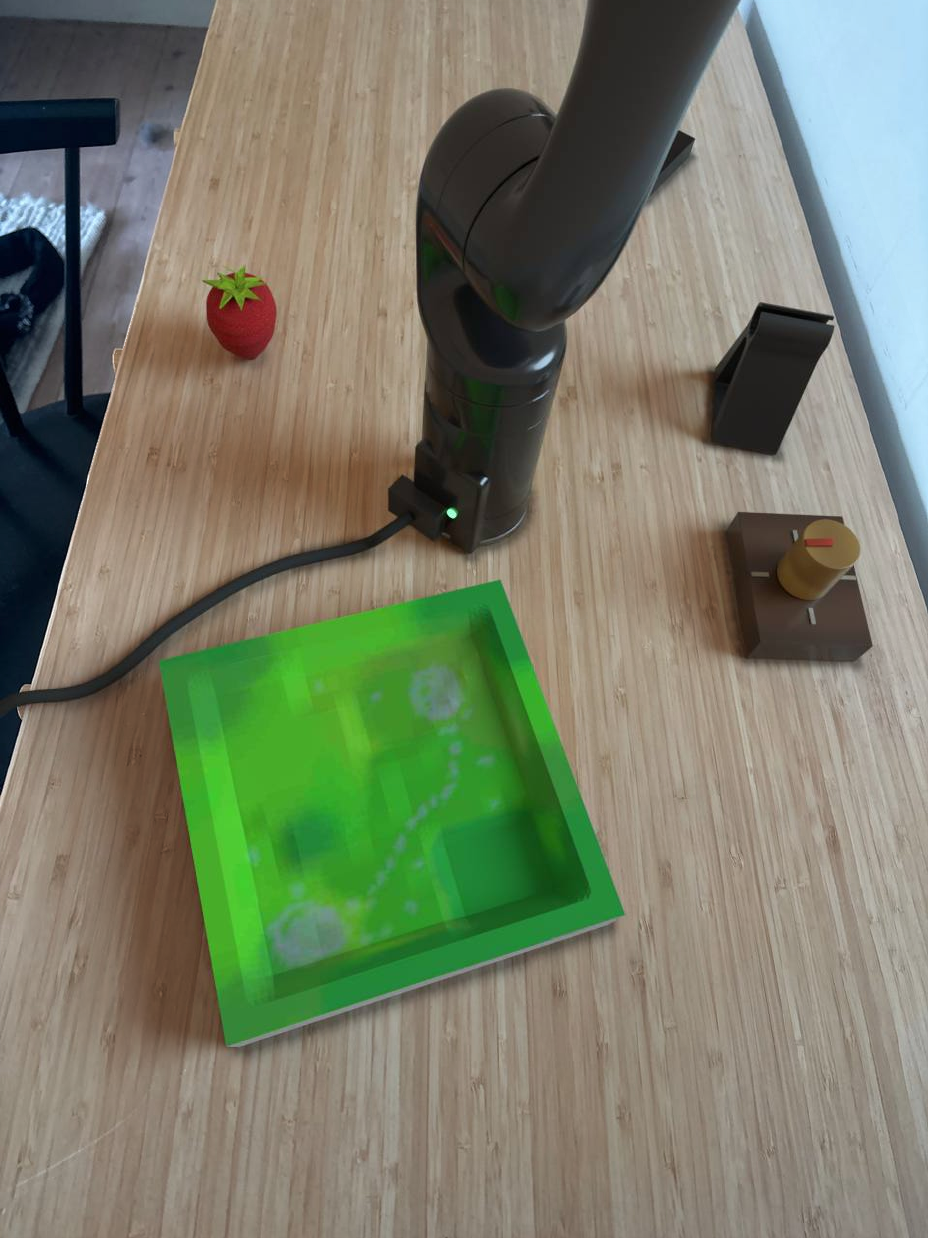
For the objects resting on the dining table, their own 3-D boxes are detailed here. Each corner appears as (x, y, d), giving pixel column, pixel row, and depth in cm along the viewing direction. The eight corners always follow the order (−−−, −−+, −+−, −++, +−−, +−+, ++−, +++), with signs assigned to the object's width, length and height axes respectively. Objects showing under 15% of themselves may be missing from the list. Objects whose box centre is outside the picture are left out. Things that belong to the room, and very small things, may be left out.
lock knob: (822, 552, 71) (853, 516, 66) (836, 599, 69) (869, 566, 64) (770, 553, 70) (798, 517, 65) (783, 601, 68) (813, 567, 63)
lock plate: (854, 661, 70) (874, 645, 67) (745, 658, 69) (761, 641, 66) (826, 535, 75) (843, 515, 72) (725, 530, 74) (738, 510, 72)
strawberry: (215, 388, 77) (192, 301, 68) (219, 325, 80) (198, 235, 71) (282, 388, 78) (268, 302, 69) (284, 326, 81) (271, 236, 72)
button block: (644, 201, 93) (655, 167, 89) (567, 160, 95) (574, 125, 91) (689, 156, 97) (700, 122, 93) (614, 117, 99) (622, 82, 95)
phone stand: (774, 456, 79) (835, 362, 68) (709, 444, 79) (760, 348, 68) (775, 382, 83) (833, 282, 72) (714, 370, 83) (762, 268, 72)
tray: (174, 687, 64) (158, 660, 60) (493, 609, 69) (500, 579, 65) (239, 1047, 54) (226, 1046, 50) (607, 925, 59) (625, 914, 55)
